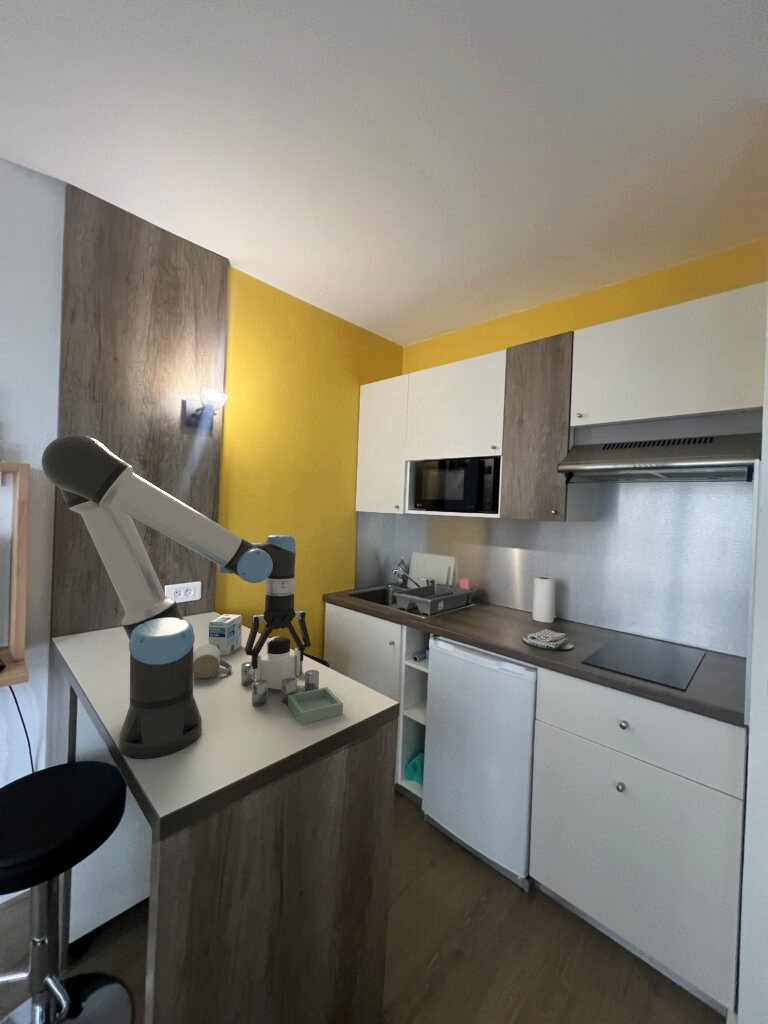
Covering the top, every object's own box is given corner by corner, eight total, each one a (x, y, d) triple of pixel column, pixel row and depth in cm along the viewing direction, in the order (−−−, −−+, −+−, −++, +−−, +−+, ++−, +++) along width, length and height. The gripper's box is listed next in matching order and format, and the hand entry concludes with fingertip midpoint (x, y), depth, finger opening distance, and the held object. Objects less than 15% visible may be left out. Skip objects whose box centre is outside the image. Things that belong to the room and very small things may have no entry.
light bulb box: (227, 656, 135) (227, 622, 135) (207, 655, 136) (207, 621, 136) (242, 645, 146) (242, 614, 145) (223, 644, 146) (224, 613, 146)
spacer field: (255, 711, 99) (255, 690, 99) (238, 678, 117) (238, 660, 117) (323, 696, 107) (324, 677, 107) (297, 667, 126) (297, 651, 126)
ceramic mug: (191, 682, 115) (191, 654, 115) (192, 671, 122) (193, 644, 122) (232, 677, 119) (233, 650, 119) (231, 667, 126) (231, 641, 126)
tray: (301, 724, 93) (301, 713, 93) (288, 705, 102) (288, 695, 102) (342, 714, 98) (342, 703, 98) (326, 697, 107) (326, 687, 107)
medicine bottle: (295, 680, 114) (297, 636, 114) (282, 690, 108) (284, 643, 108) (272, 676, 116) (273, 633, 116) (258, 686, 109) (259, 640, 109)
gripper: (238, 599, 103) (236, 689, 103) (324, 592, 114) (322, 674, 114) (233, 593, 110) (231, 678, 110) (315, 588, 121) (312, 665, 121)
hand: (277, 676), depth 112 cm, fingers closed on medicine bottle, 10 cm apart
